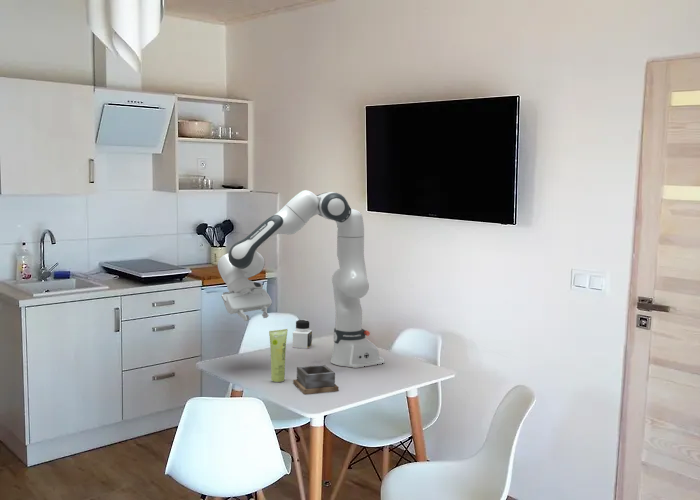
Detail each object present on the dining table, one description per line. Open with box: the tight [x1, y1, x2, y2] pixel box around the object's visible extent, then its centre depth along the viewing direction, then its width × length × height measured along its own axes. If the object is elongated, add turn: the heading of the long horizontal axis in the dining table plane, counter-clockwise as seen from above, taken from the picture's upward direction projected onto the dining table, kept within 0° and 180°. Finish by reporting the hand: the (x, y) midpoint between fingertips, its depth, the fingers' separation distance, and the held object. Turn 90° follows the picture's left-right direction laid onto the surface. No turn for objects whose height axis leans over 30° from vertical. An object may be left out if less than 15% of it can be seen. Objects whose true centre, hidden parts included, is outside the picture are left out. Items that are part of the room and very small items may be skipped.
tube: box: [268, 328, 288, 383], centre depth 255 cm, size 6×5×20 cm
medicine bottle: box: [292, 319, 313, 350], centre depth 307 cm, size 7×7×12 cm
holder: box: [292, 364, 339, 395], centre depth 249 cm, size 13×13×6 cm
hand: (256, 318), depth 262 cm, fingers open, 8 cm apart
